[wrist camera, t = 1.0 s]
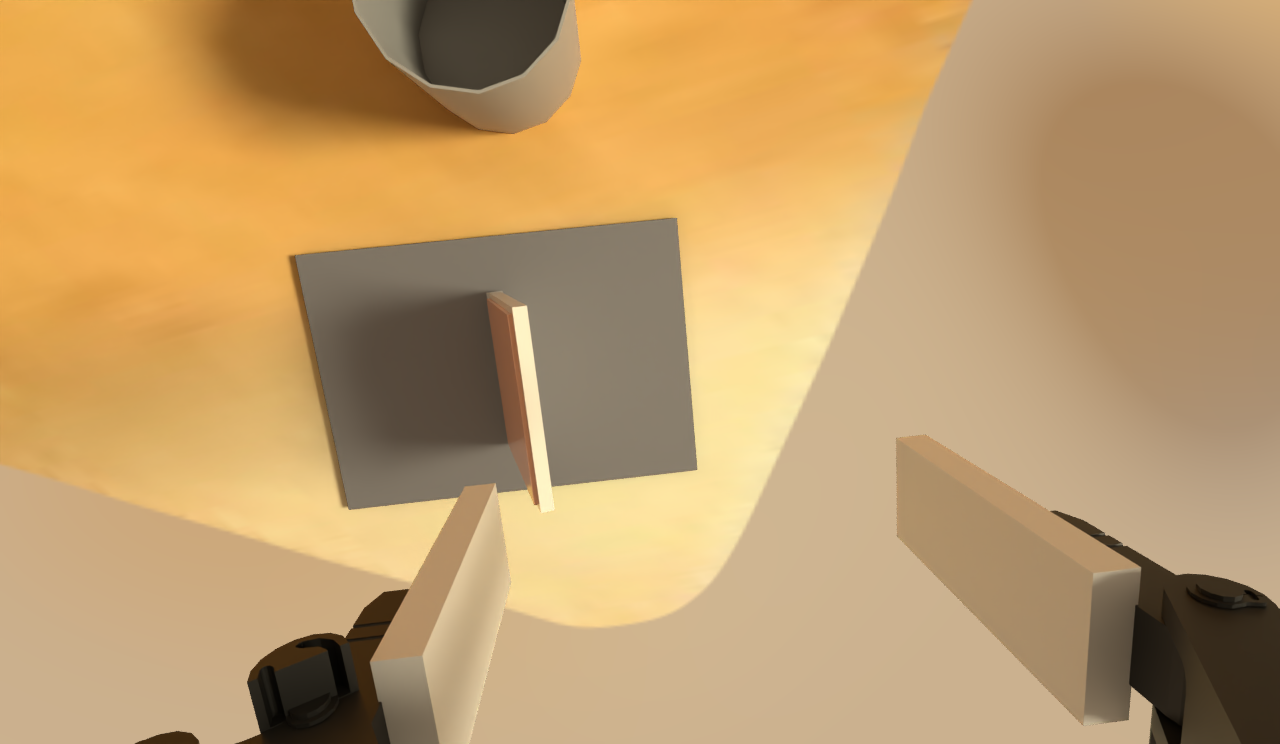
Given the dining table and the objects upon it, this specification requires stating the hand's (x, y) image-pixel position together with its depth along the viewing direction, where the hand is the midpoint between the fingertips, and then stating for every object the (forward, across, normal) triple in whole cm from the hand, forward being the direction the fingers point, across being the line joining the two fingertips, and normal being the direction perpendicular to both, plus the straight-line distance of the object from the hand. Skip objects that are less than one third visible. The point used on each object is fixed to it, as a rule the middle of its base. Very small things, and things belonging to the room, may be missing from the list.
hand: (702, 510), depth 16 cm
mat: (+22, -8, 0) cm, 23 cm away
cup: (+22, -6, +17) cm, 28 cm away
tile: (+16, -6, 0) cm, 17 cm away
